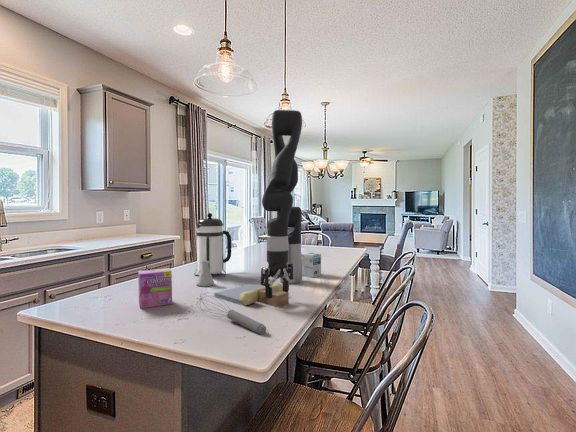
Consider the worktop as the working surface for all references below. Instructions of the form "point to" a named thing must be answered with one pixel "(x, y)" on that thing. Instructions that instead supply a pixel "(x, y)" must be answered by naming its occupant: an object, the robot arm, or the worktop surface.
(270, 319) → the worktop surface
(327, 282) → the worktop surface
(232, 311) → the kitchen whisk
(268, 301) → the tan wooden beam
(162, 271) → the box
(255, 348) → the worktop surface
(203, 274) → the flask
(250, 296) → the grey flat piece
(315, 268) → the light bulb box
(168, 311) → the worktop surface
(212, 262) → the coffee press
